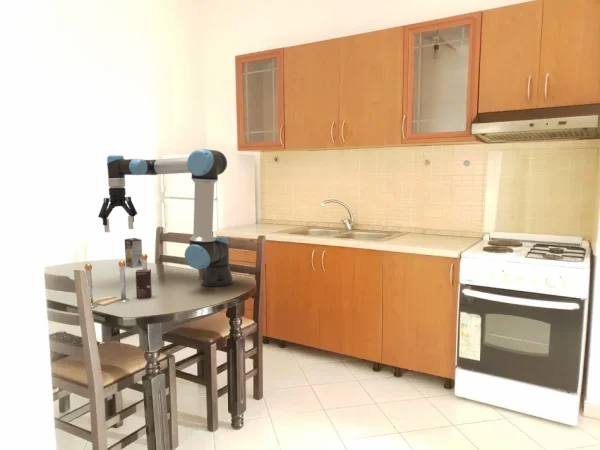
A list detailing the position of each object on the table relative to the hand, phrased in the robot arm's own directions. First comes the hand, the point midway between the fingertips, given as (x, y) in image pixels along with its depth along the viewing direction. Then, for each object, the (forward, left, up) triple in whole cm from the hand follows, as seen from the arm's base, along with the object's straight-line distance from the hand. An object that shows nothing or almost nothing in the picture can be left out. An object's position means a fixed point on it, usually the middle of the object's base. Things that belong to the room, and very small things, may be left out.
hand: (119, 230), depth 215 cm
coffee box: (+23, -34, -26) cm, 49 cm away
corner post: (-23, +25, -27) cm, 43 cm away
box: (-28, +18, -26) cm, 43 cm away
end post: (-17, +37, -26) cm, 48 cm away
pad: (-17, +29, -26) cm, 42 cm away
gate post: (-23, +11, -26) cm, 37 cm away
